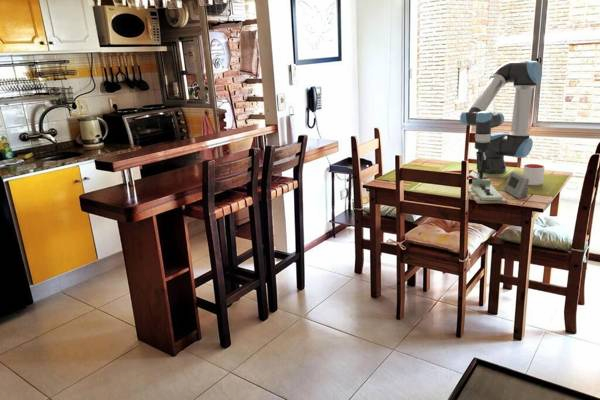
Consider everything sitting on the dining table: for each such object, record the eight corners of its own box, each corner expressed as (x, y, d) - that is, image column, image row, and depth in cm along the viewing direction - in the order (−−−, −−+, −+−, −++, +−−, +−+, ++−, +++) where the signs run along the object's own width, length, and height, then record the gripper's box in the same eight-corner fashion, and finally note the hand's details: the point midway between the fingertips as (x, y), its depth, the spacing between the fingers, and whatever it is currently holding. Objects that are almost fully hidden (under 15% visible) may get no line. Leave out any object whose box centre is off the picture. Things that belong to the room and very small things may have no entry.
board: (464, 186, 253) (464, 179, 251) (490, 186, 251) (491, 179, 250) (477, 203, 225) (477, 195, 224) (506, 203, 223) (507, 194, 222)
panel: (470, 187, 246) (471, 179, 244) (490, 187, 244) (490, 179, 243) (481, 200, 225) (482, 191, 224) (502, 199, 224) (503, 191, 222)
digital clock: (502, 190, 244) (504, 170, 240) (520, 189, 242) (522, 170, 239) (510, 199, 229) (512, 179, 225) (529, 199, 227) (532, 178, 224)
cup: (544, 186, 245) (546, 168, 242) (524, 186, 247) (526, 168, 244) (539, 181, 255) (541, 163, 252) (520, 181, 257) (521, 164, 254)
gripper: (472, 139, 247) (469, 180, 254) (478, 144, 234) (476, 187, 242) (486, 138, 246) (483, 180, 253) (493, 143, 234) (490, 187, 241)
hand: (480, 183), depth 248 cm, fingers closed
